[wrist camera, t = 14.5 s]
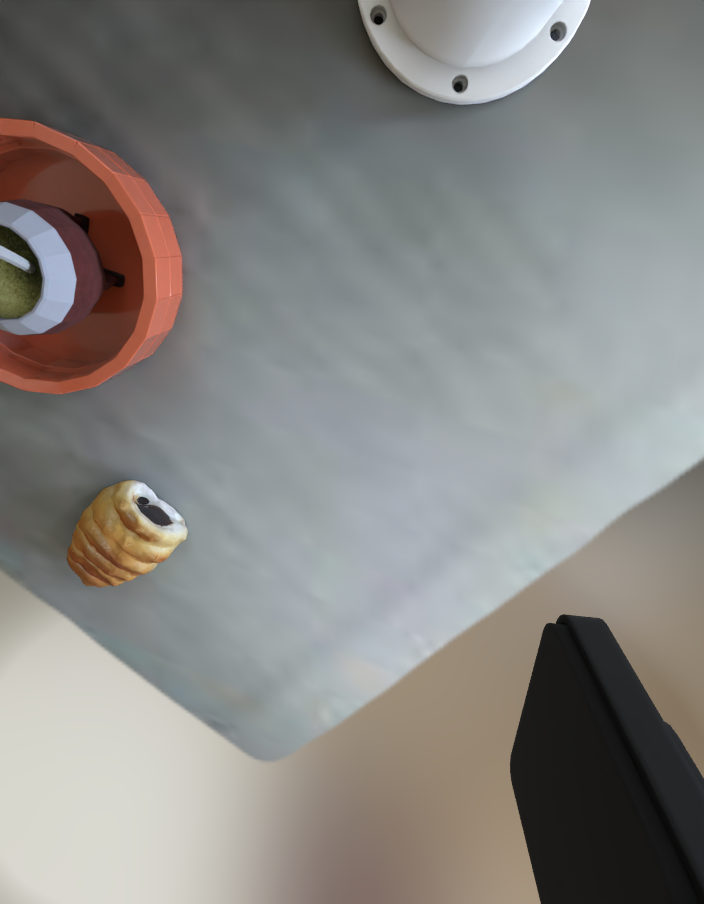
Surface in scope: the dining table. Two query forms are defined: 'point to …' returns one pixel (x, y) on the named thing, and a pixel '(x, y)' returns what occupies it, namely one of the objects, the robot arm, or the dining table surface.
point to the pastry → (124, 535)
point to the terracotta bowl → (121, 250)
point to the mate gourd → (47, 269)
